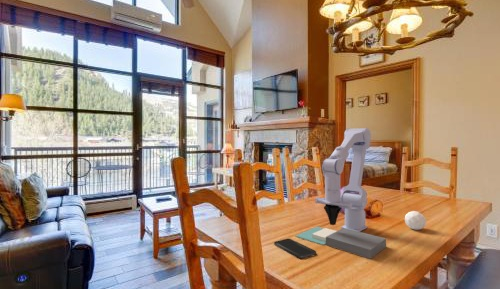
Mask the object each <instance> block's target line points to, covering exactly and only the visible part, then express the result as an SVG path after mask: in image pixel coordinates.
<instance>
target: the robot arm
mask: <svg viewBox="0 0 500 289" xmlns="http://www.w3.org/2000/svg"><path fill="white" fill-rule="evenodd" d="M371 140H372V133H371V130H370V129H369V128H368V127H365V128H364V127H363V128H361V127H360V128H359V127H358V128H346V130H344V136H343V140H342V143H341V144H340V146H336V147H335V148H334V151H332V153H331V154H330V156H329V157H328V158H325V159H324V160H323V162H322V164H321V171H322V173H323V177H324V197H315V198H314V203H315V204H320V205H321V204H322V205H324V206H323V209H324V211H325V213H326V215H327V218H328V221H329V222H328V223H329V225H330V226H334V225H337V220H338V217H339V214H340V210H341V209H342V208H345V212H344V225H342V226H340V228H341V229H343V228H346V229H350V230H354V231H358V232H362V231H364V230H366V229H367V228H368V227H369V226H367V225H366V210H365V208H366V207H367V204H368V198H367V196H368V192H367V191H366V190H365V189H364V188H363V187H362V181H363V176H364V175H363V172H364V167H365V159H366V153H367V152H366V151H367V150H368V149H370V146H371ZM351 149H352V150H353V153H352V154H353V155H352V162H351V169H350V175H349V181H348V182H349V183H348V184H347V185H345V186H343V187H344V188H343V191H342V194H341V192H340V189H341V174H342V173H343V171H344V166H345V162H346V160H347V159H348V157H349V155H350V150H351ZM351 192H355V193H351ZM358 193H359V194H358Z"/></svg>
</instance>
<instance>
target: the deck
mask: <svg viewBox="0 0 500 289" xmlns="http://www.w3.org/2000/svg"><path fill="white" fill-rule="evenodd" d="M336 231H337V232H335V233H333V234H330V235H328V236H326V244H325V245H326V246H328V247H331V248H334V249H336V250H337V249H338V250H341V251H344V252H347V253H350V254H354V255H357V256H360V257H363V258H366V259H369V260H371V259H372V258H374V257H375V256H376V255H377V254H379V253H380V252H381V251H383V250H384V249H385V248H386V247H387V238H386V237H382V236H377V235H374V234H370V233H366V232H362V231H360V232H358V231H354V230H350V229H346V228H341V229H339V230H336Z"/></svg>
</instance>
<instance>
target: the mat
mask: <svg viewBox="0 0 500 289" xmlns="http://www.w3.org/2000/svg"><path fill="white" fill-rule="evenodd" d="M324 228H325V227H320V226H314V227H313V228H310V229H308V230H306V231H304V232H300V233H299V234H296V235H295V237H296V238H299V239H301V240H304V241H305V240H306V241H307V242H308V241H309V242H312V243H315V244H317V245H322V246H325V245H326V242H324V241H321V240H318V239H314V238H312V234H313V233H315V232H317V231H320V230H322V229H324Z"/></svg>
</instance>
